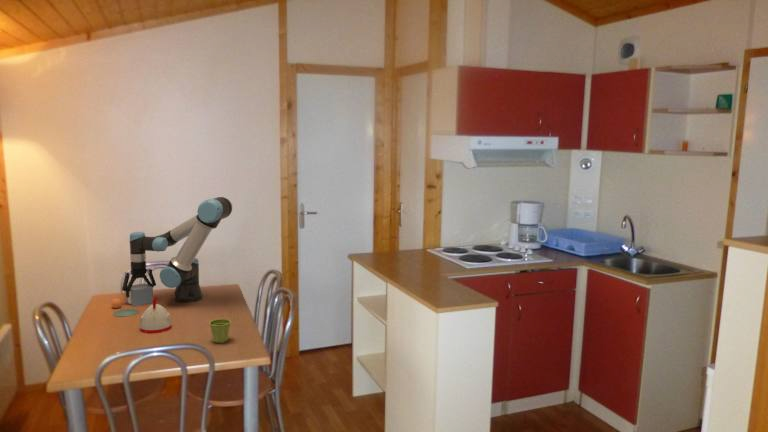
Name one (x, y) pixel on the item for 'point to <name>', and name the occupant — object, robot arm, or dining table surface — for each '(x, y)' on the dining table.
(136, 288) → the grey-blue rounded block
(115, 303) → the ball
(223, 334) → the plant pot
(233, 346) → the dining table surface
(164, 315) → the white and red dome
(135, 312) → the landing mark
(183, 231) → the robot arm
